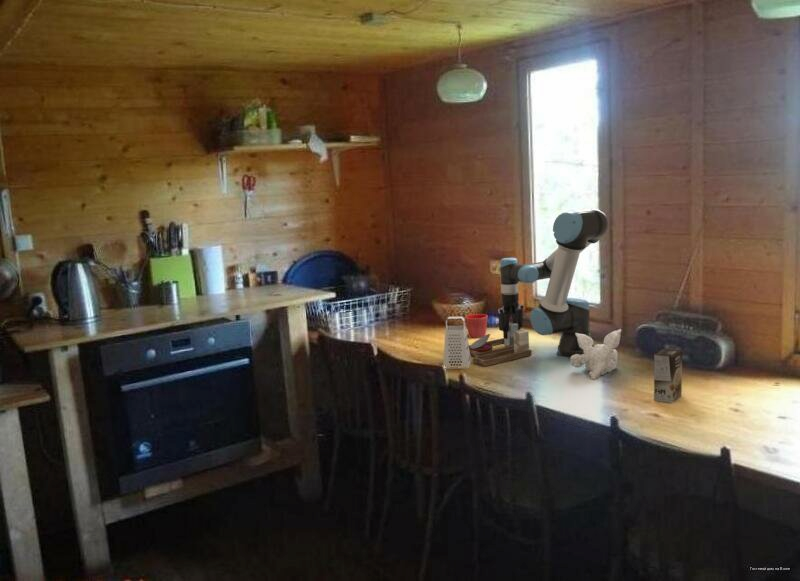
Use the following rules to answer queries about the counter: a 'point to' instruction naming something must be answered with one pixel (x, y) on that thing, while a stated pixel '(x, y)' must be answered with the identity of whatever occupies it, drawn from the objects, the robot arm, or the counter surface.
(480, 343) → the canned food
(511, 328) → the lane
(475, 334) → the flower pot
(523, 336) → the lane
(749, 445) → the counter surface
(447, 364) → the grater
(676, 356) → the coffee box
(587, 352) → the white sculpted figure
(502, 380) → the counter surface
